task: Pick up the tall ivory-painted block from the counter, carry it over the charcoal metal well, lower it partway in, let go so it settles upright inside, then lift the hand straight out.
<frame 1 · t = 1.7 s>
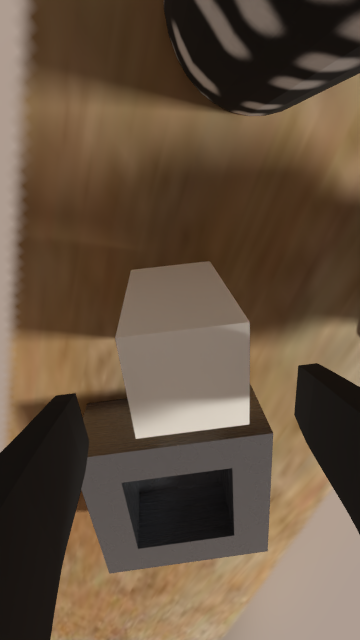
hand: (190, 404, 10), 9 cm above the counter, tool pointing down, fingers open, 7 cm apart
metal well: (177, 452, 23), on the counter
ivory block: (174, 302, 18), on the counter
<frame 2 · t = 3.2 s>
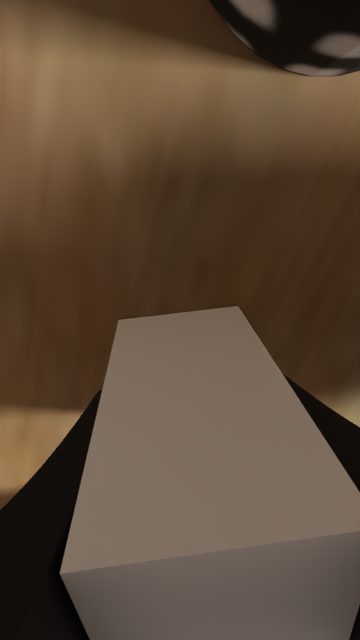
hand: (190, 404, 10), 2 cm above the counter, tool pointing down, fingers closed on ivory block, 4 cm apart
ivory block: (183, 363, 12), on the counter, touching gripper
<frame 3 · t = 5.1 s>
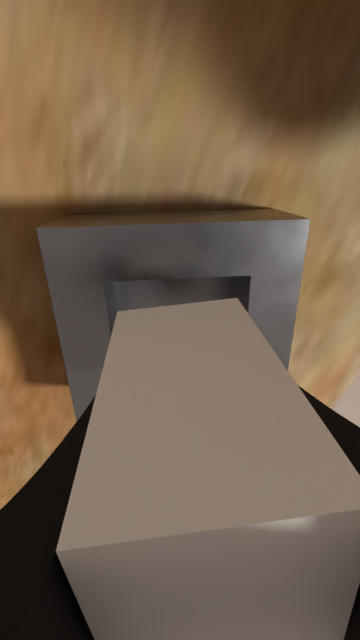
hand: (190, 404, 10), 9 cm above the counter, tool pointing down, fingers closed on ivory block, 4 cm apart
metal well: (174, 307, 19), on the counter
ivory block: (182, 355, 12), point 7 cm above the counter, touching gripper
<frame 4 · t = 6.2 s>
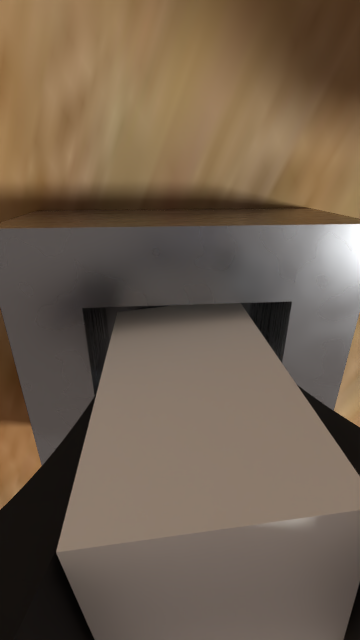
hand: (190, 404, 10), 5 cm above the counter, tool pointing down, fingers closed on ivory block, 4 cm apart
metal well: (178, 331, 15), on the counter
ivory block: (182, 356, 12), point 3 cm above the counter, touching gripper
when the fingers open (5 cm above the counter, at t = 7.0 s): ivory block drops 2 cm, resting on metal well.
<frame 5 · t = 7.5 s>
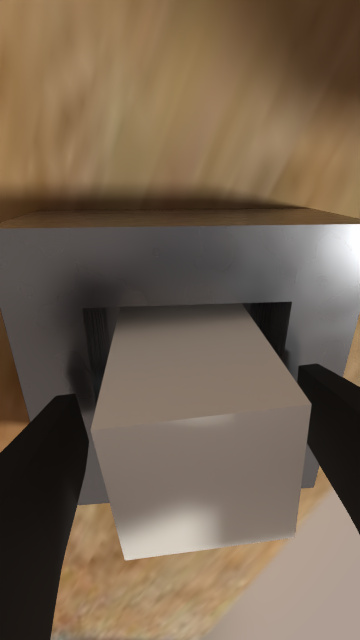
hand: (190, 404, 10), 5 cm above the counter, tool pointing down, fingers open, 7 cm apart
metal well: (178, 331, 15), on the counter
ivory block: (179, 331, 14), resting on metal well
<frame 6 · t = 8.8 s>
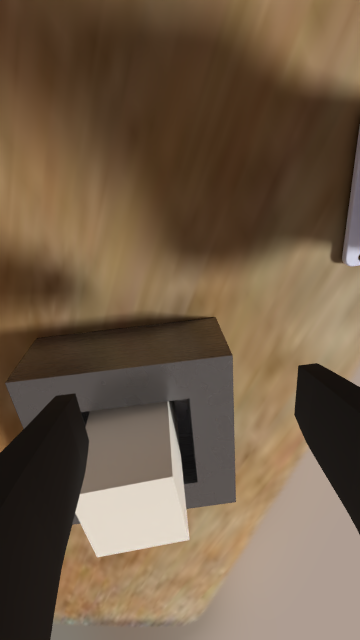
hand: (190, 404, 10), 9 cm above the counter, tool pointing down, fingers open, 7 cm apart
metal well: (139, 398, 22), on the counter
ivory block: (139, 400, 21), resting on metal well
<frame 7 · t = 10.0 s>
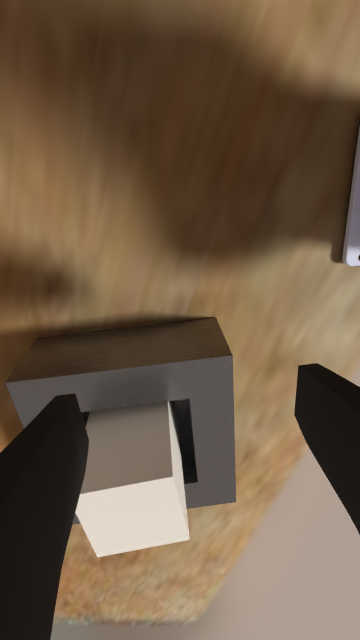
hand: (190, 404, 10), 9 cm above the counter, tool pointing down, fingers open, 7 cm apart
metal well: (140, 398, 22), on the counter
ivory block: (139, 400, 21), resting on metal well
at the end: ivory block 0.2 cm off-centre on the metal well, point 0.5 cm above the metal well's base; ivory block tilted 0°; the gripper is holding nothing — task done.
